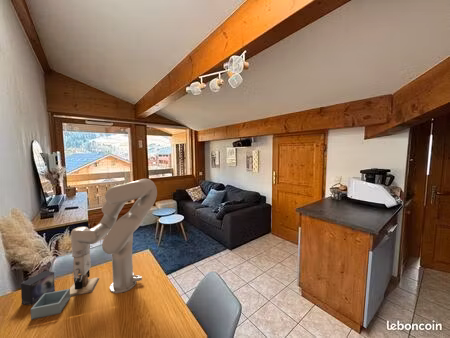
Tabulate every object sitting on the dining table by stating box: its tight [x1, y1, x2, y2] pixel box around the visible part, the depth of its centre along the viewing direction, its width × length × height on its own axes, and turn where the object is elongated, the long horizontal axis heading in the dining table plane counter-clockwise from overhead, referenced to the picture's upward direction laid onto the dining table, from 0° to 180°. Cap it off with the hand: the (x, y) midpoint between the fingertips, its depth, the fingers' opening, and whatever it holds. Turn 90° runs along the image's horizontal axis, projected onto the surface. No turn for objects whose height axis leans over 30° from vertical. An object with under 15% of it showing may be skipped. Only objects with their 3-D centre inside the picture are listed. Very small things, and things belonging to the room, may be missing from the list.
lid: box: [69, 274, 99, 297], centre depth 101 cm, size 11×11×6 cm
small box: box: [20, 270, 56, 306], centre depth 94 cm, size 11×6×10 cm, turn 168°
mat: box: [70, 277, 100, 298], centre depth 101 cm, size 12×12×1 cm
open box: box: [30, 288, 71, 321], centre depth 87 cm, size 10×10×5 cm
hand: (82, 282), depth 101 cm, fingers open, 9 cm apart
